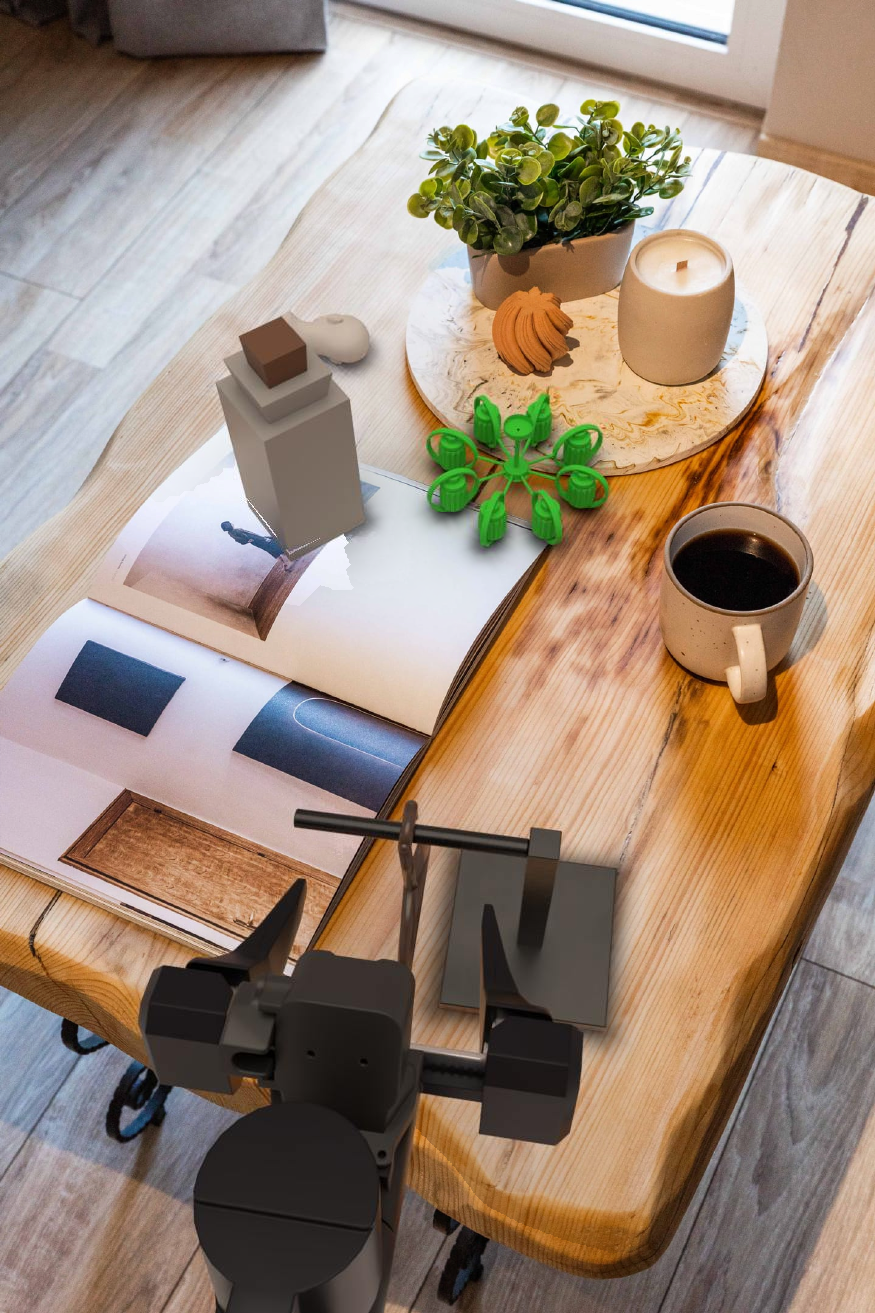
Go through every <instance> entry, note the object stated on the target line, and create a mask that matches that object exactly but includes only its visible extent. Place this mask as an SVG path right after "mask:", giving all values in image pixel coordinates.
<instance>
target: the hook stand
mask: <svg viewBox="0 0 875 1313" xmlns="http://www.w3.org/2000/svg"><path fill="white" fill-rule="evenodd" d="M401 824H402V821H397V820H389V819H381V818H374V817H367V816H358V815H350V814H345V813H344V814H342V813H337V812H336V813H335V812H329V811H328V812H327V811H320V810H312V809H305V808H296V809H295V812H294V815H293V827H294V828H296V829H301V830H303V829H304V830H310V831H316V832H325V833H332V834H339V835H340V834H341V835H349V836H356V837H363V838H370V839H379V840H385V841H393V842H398V841H399V836H400V830H401ZM562 838H563V831H562V830H558V829H550V828H542V827H534V826H531V827H530V829H529V838H528V837H520V836H513V835H505V834H497V833H489V832H481V831H475V830H474V831H473V830H467V829H459V828H458V829H457V828H452V827H451V828H450V827H443V826H436V825H435V826H434V825H427V824H419V823H415V829H414V835H413V841H412V844H415V845H417V844H422V845H430V846H431V847H438V848H447V849H453V850H460V855H459V863H458V871H457V876H456V883H455V889H454V897H453V903H452V910H451V916H450V924H449V931H448V937H447V945H446V949H445V950H446V952H445V957H444V964H443V965H444V966H443V970H442V971H443V972H442V979H441V986H440V991H439V992H440V993H439V999H438V1007H439V1008H440V1009H444V1010H452V1011H456V1012H457V1011H458V1012H466V1013H472V1014H478V1015H480V936H481V924H482V916H483V910H484V904H485V903H487V904H492V905H493V908H494V911H495V915H496V919H497V923H498V927H499V931H500V935H501V939H502V943H503V947H504V950H505V954H506V958H507V962H508V965H509V969H510V971H511V974H512V976H513V979H514V981H515V983H516V986H517V988H518V990H519V992H520V994H521V995H522V996H523V997H524V998H525V999H526V1000H527V1001H528V1002H529V1003H530V1004H532V1005H536V1006H542V1007H545V1008H547V1009H548V1010H550V1011H551V1013H552V1015H553V1022H558V1023H565V1024H572V1025H573V1026H574V1027H576V1028H577V1029H581V1030H586V1031H587V1030H588V1031H594V1032H602V1033H603V1032H605V1030H606V1027H607V1021H608V1007H609V1006H608V1004H609V991H610V979H611V978H610V976H611V963H612V962H611V961H612V948H613V933H614V932H613V931H614V916H615V903H616V891H617V890H616V887H617V873H618V869H617V868H616V867H610V866H602V865H595V864H587V863H580V862H572V861H565V860H560V857H561V846H562Z"/></svg>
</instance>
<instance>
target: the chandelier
mask: <svg viewBox="0 0 875 1313" xmlns="http://www.w3.org/2000/svg"><path fill="white" fill-rule="evenodd" d="M481 402H482V403H481ZM550 404H551V397H550V395H549V394H548V393H543V392H542V393H541V394H539V396H538V398H537V400H536V401H534V402H532V403H530V404H529V405H528V407H527V410H526V412H525V414H521V413H515V414H511V415H509V416H507V417H506V418H505V420H504V421H503V434H504V435H505V436H506V438H508V439H509V440H512V441H514V455H513V456H512V455H511V454H510V453H509V451H508V450H507V448H506V447H505V445H504V443H503V442H502V416H501V413H500V408H499V407H498V406H497V405H496V404H494V403H492V402H491V400H490V398H488V397H487V396H486V395H484V394H481V395H478V396H475V398H474V401H473V412H474V416H473V433H474V437H475V438H476V439H477V440H478V441H479V442H480V443H485V444H486V445H487V446H488V447H489V448H490V449H494V448H497V447H501V449H502V450H503V453H504V454H505V456H506V457H507V459H506V460H505V461H504V462H503V461H502V462H501V461H498V460H494V459H491V458H488V457H484V456H481V455H479V451H478V448H477V446H476V444H475V443H474V442H473V440H472V439H471V438H470V437H468V436H467V435H466V434H464V433H463V432H461V431H459V430H456V429H454V428H449V427H440V428H436V429H434V430H433V431H431V432H430V434H429V435H428V436H427V439H426V442H425V447H426V450H427V453H428V454H429V456H430V457H431V459H433V460H434V461H435V462H436V463H437V464H438V465H440V466H441V468H442V469H444V471H446V472H444V473H442V474H441V475H439V476H438V477H437V478H436V479H434V481H433V482H431V484H430V485H429V488H428V490H427V493H426V500H427V503H428V504H429V506H430V507H431V509H433V510H434V511H436V512H439V513H447V512H451V513H456V512H459V511H461V510H463V509H464V508H465V507H466V506H467V504H468V503H469V502H470V501H472V499H473V498H474V497H475V496H476V494H477V493H478V491H479V489H480V483H482V482H485V481H488V480H491V479H494V478H496V477H497V478H498V477H500V476H503V477H504V478H505V479H506V480H508V481H507V483H506V485H505V487H504V489H503V491H499V490H496V491H494V492H493V493H492V495H491V497H490V499H487V500H485V501H483V502H482V504H481V505H480V508H479V510H478V515H477V517H478V518H477V531H478V532H479V544H480V545H481V546H483V547H486V548H487V547H488V548H489V547H490V546H491V545H492V543H493V541H498V540H500V539H501V538H503V537H504V535H505V534H506V532H507V531H506V530H507V524H508V512H507V510H506V507H505V503H506V495H507V492H508V490H509V488H510V486H511V484H512V482H515V483H519V482H522V484H524V486H525V488H526V490H527V491H528V493H529V495H530V497H531V509H532V513H531V514H532V515H531V529H532V533H533V534H534V535H535V537H537V538H538V539H542V540H545V541H546V542H547V544H548V545H550V546H554V545H556V544H559V543H561V542H562V539H563V526H562V522H561V521H562V510H561V506H560V503H559V502H558V501H557V500H556V499H554V498H552V496H550V494H549V493H548V492H547V491H546V490H544V489H539V490H536V491H533V489H532V488H531V487H530V485H529V483H528V481H527V478H529V477H530V475H533V476H537V477H540V478H544V479H547V480H551V481H554V487H555V490H556V492H557V493H558V494H559V496H560V497H561V498H562V499H564V500H565V501H566V502H568V504H569V505H570V506H571V507H573V508H576V509H594V508H598V507H600V506H602V505H603V504H605V502H606V501H607V500H608V497H609V494H610V485H609V483H608V480H606V478H605V477H604V475H602V474H601V473H600V472H598V471H597V470H596V469H593V468H592V467H589V466H586V465H587V464H588V463H589V461H590V460H591V459H592V458H593V457H594V456H595V455H596V454H597V453H598V451H599V450H600V448H601V447H602V444H603V441H604V435H603V433H602V431H601V430H600V428H599V427H598V426H597V425H595V424H592V423H584V424H580V425H577V426H574V427H572V428H570V429H569V430H568V431H566V432H565V433H564V434H562V436H560V437H559V438H558V440H556V442H555V444H554V446H553V448H552V451H551V453H550V454H547V455H545V456H542V457H539V458H536V459H534V460H530V461H527V460H526V459H525V458H524V456H525V454H526V451H527V450H528V447H532V448H535V447H536V446H537V445H538V443H539V442H543V441H545V440H547V439H548V438H549V437H550V436H551V433H552V425H553V424H552V422H553V413H552V409H551V406H550ZM589 431H594V432H596V433H597V439H596V442H595V444H594V445H592V438H591V437H592V436H591V433H590V432H589ZM438 435H441V436H440V438H439V442H438V453H437V452H436V451H435V450H434V448H433V446H432V443H431V440H432V438H434V437H435V436H438ZM522 441H526V442H525V444H524V446H523V449H522V451H521V452H520V449H521V442H522ZM466 445H467V446H468V448H469V449H470V450H471V452H472V455H473V461H472V462H470V463H469V464H466V462H467V446H466ZM592 446H593V447H592ZM561 447H563V449H562V459H563V462H562V461H559V460H558V453H559V451H560V449H561ZM551 458H552V459H553V461H554V463H555V464H556V465H557V467H559V468H560V469H559V471H558V472H557V474H556V476H551V475H548V474H544V473H541V472H538V471H533V470H531V467H530V466H531V465H534V464H536V463H539V462H542V461H545V460H548V459H551ZM478 460H480V461H484V462H487V463H491V464H495V465H498V466H501V471H498V472H497V473H493V474H491V475H487V476H485V477H482V478H479V476H478V475H477V473H476V472H475V471H474V470H473V469H472V468H474V466H475V465H476V463H477V461H478ZM568 472H571V474H570V476H569V478H568V480H567V481H568V482H567V486H566V491H565V490H564V489H563V487H562V485H561V483H560V477H561V476H562V475H563V474H565V473H568ZM465 475H469V476H472V477H474V483H473V486H472V488H471V490H469V492H468V483H467V481H466V477H465ZM596 480H597V481H598V482H599V483H600V484H601V486H602V487H603V490H604V496H603V498H601V499H599V500H596V501H594V500H595V498H596V497H595V496H596V491H597V481H596ZM438 487H439V488H438ZM437 488H438V489H439V490H438V491H439V503H440V505H438V504H435V503H434V502H432V498H433V494H434V492H435V491H436V490H437ZM539 497H540V499H539Z"/></svg>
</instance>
